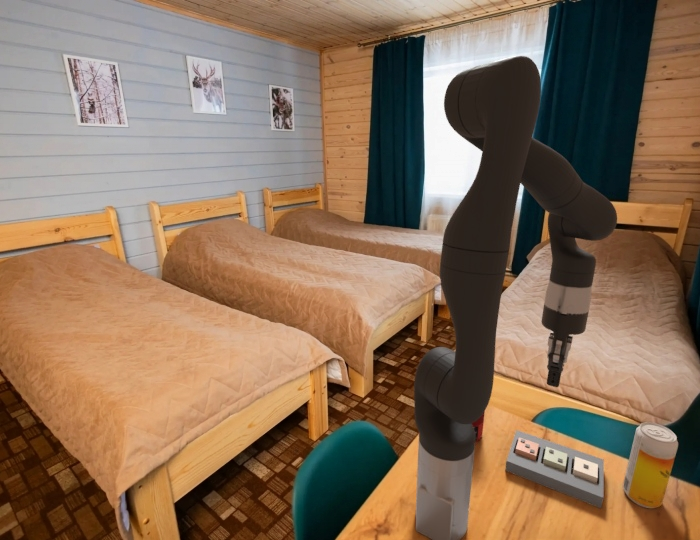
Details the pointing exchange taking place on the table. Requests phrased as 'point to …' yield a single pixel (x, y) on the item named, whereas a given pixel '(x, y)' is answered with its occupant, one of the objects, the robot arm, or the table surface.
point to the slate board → (557, 470)
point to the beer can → (650, 464)
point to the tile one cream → (585, 469)
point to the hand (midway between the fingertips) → (552, 384)
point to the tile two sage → (555, 459)
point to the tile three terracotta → (527, 449)
